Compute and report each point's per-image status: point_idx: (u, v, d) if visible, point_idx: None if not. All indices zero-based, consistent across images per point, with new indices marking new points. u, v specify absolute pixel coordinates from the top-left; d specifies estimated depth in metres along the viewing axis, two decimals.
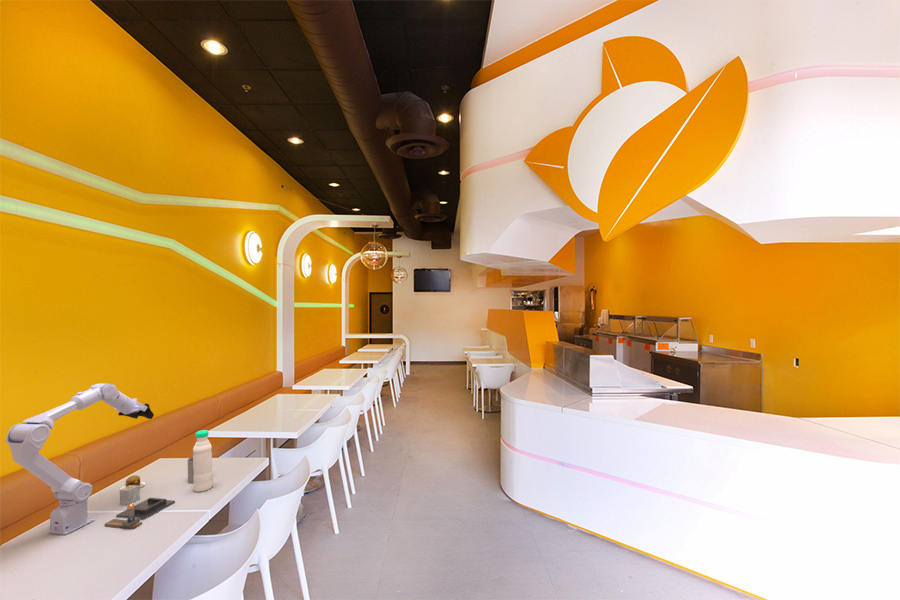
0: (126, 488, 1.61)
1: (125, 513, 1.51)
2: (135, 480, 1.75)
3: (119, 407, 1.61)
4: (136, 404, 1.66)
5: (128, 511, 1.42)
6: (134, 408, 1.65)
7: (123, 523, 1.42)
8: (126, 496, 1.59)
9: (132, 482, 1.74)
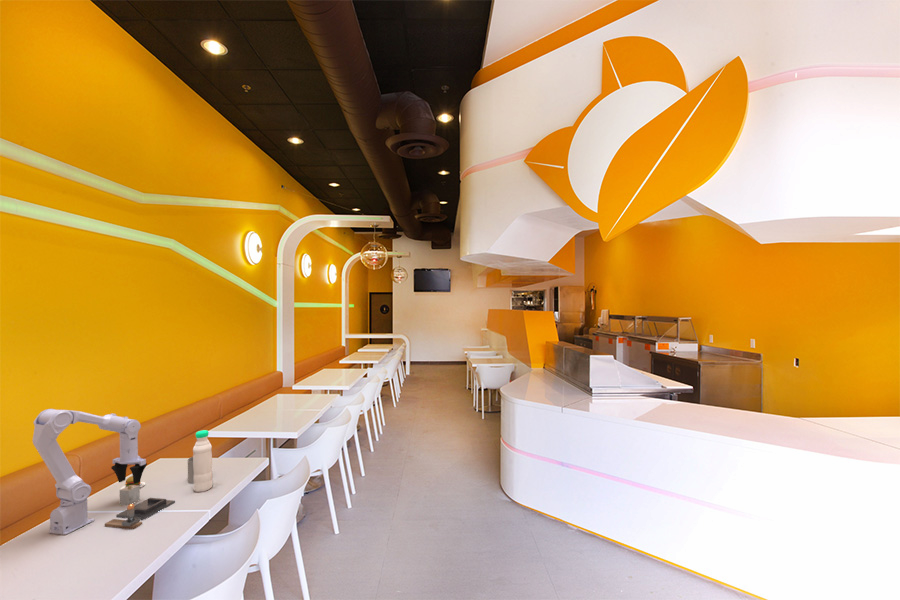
0: (126, 488, 1.61)
1: (125, 513, 1.51)
2: None
3: (125, 450, 1.60)
4: (137, 458, 1.63)
5: (128, 511, 1.42)
6: (133, 460, 1.61)
7: (123, 523, 1.42)
8: (126, 496, 1.59)
9: (132, 482, 1.74)
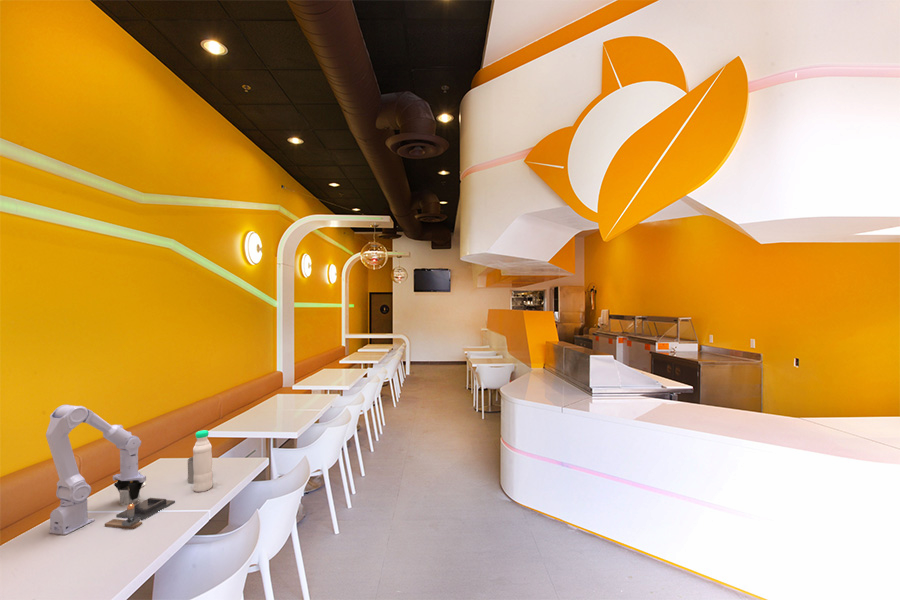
0: (126, 488, 1.61)
1: (125, 513, 1.51)
2: None
3: (125, 467, 1.59)
4: (137, 475, 1.63)
5: (128, 511, 1.42)
6: (134, 477, 1.61)
7: (123, 523, 1.42)
8: (126, 495, 1.59)
9: None
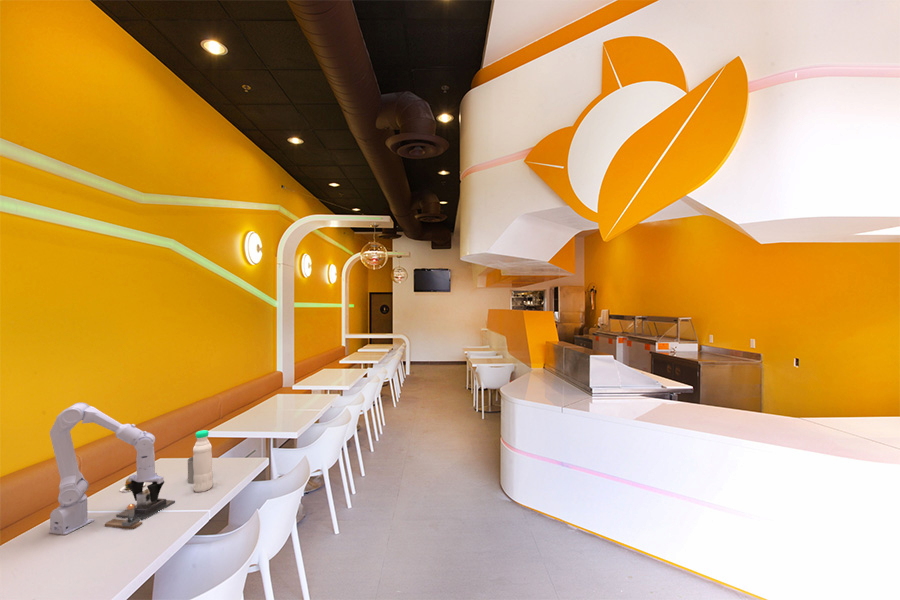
0: (143, 492, 1.55)
1: (125, 513, 1.51)
2: None
3: (142, 468, 1.53)
4: (154, 476, 1.56)
5: (128, 511, 1.42)
6: (151, 478, 1.54)
7: (123, 523, 1.42)
8: (143, 500, 1.53)
9: None
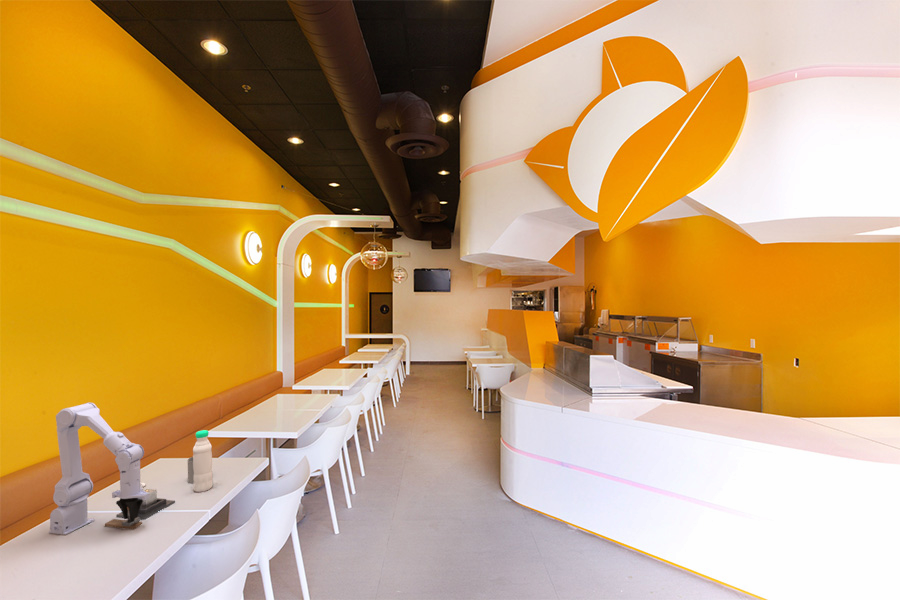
0: None
1: None
2: None
3: (126, 483, 1.41)
4: (140, 492, 1.44)
5: (128, 511, 1.42)
6: (136, 494, 1.42)
7: (123, 523, 1.42)
8: (143, 500, 1.53)
9: None
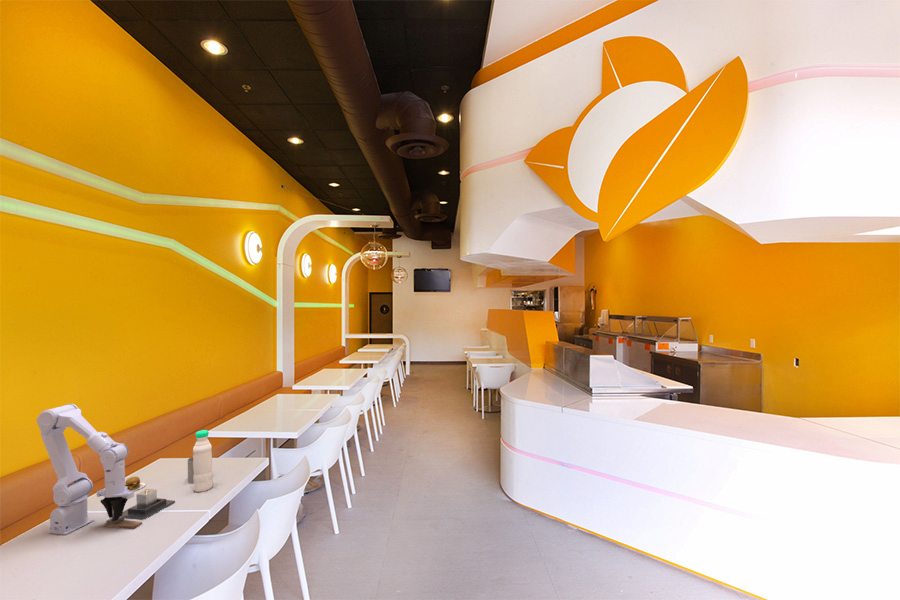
0: (143, 492, 1.55)
1: (125, 513, 1.51)
2: (134, 481, 1.74)
3: (110, 482, 1.42)
4: (124, 490, 1.46)
5: (112, 510, 1.44)
6: (120, 493, 1.44)
7: (107, 521, 1.43)
8: (143, 500, 1.53)
9: (131, 483, 1.73)
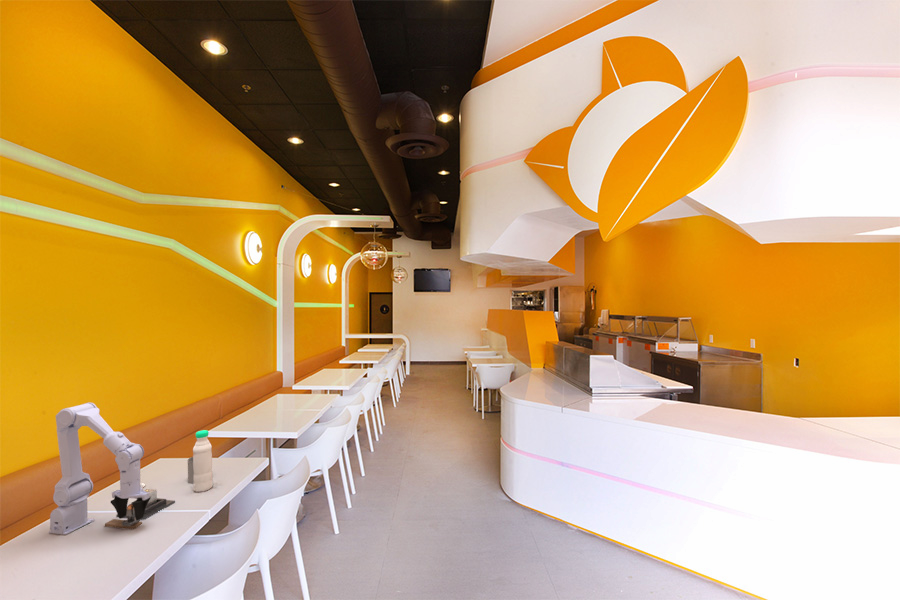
0: None
1: None
2: None
3: (126, 483, 1.41)
4: (140, 491, 1.44)
5: (128, 511, 1.42)
6: (136, 494, 1.42)
7: (123, 523, 1.42)
8: None
9: None
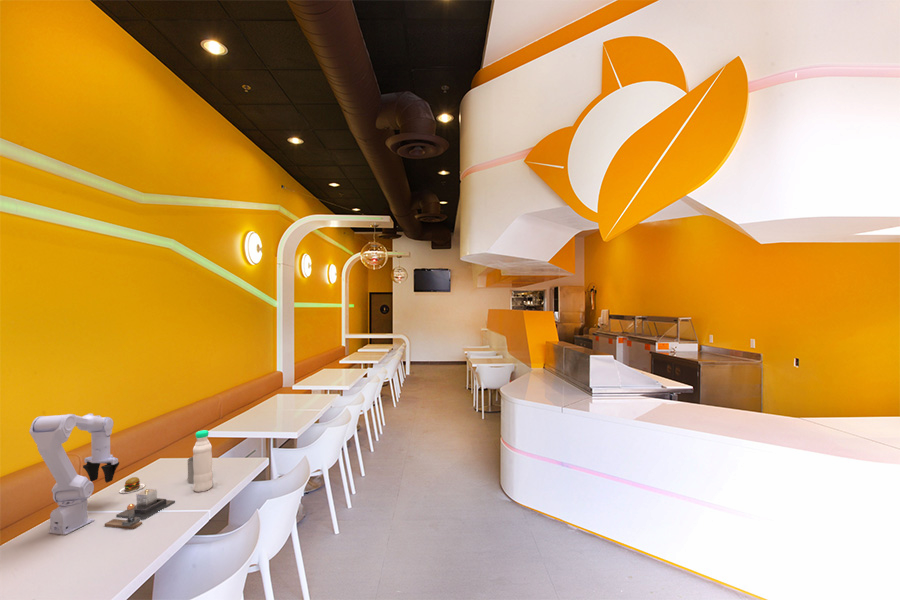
0: (143, 492, 1.55)
1: (125, 513, 1.51)
2: (133, 482, 1.73)
3: (97, 449, 1.57)
4: (109, 457, 1.61)
5: (128, 511, 1.42)
6: (105, 459, 1.59)
7: (123, 523, 1.42)
8: (143, 500, 1.53)
9: (130, 484, 1.72)
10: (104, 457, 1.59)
